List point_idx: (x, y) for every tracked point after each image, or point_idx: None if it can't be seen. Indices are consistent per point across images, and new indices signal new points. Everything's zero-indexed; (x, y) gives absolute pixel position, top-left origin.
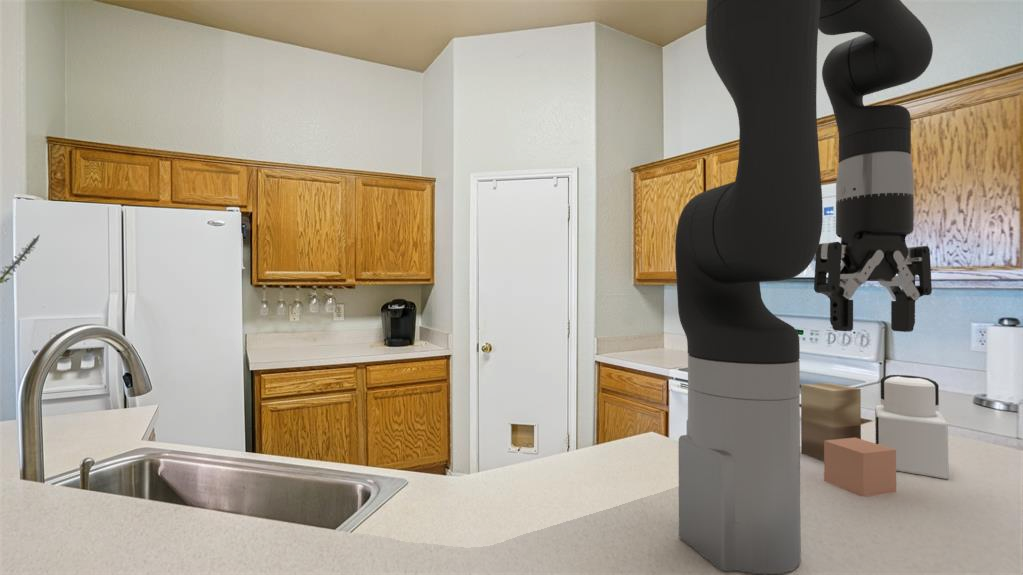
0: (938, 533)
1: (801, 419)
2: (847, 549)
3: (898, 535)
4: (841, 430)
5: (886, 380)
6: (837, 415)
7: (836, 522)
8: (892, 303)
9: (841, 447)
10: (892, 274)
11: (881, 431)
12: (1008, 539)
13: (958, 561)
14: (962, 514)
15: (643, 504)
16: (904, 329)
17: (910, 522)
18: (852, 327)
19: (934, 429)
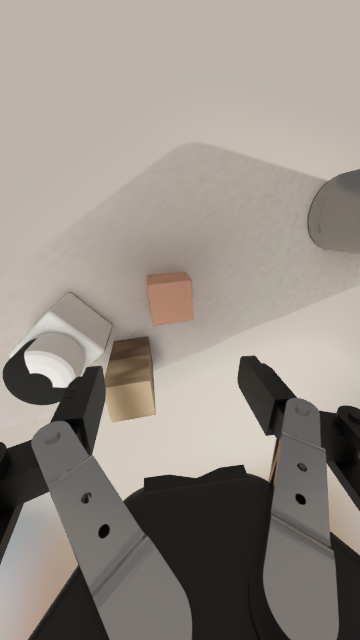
0: (189, 199)
1: None
2: (278, 193)
3: (223, 203)
4: (136, 354)
5: None
6: (142, 363)
7: (247, 233)
8: (92, 446)
9: (192, 302)
10: (143, 504)
11: (104, 340)
12: (143, 176)
13: (221, 156)
14: (133, 224)
15: (346, 285)
16: (102, 373)
17: (192, 221)
18: (246, 357)
19: (62, 315)
